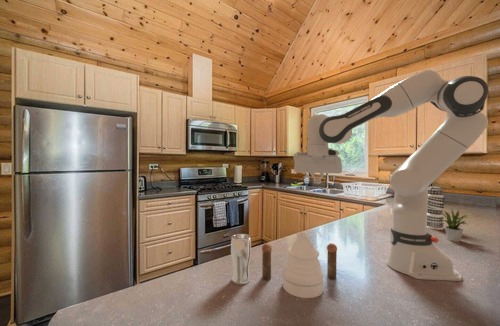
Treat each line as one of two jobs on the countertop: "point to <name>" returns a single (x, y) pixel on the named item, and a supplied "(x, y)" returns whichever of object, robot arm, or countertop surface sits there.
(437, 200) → the decorative candle
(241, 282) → the beer glass
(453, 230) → the house plant
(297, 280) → the honey pot
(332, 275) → the post
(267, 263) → the post
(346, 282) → the countertop surface
